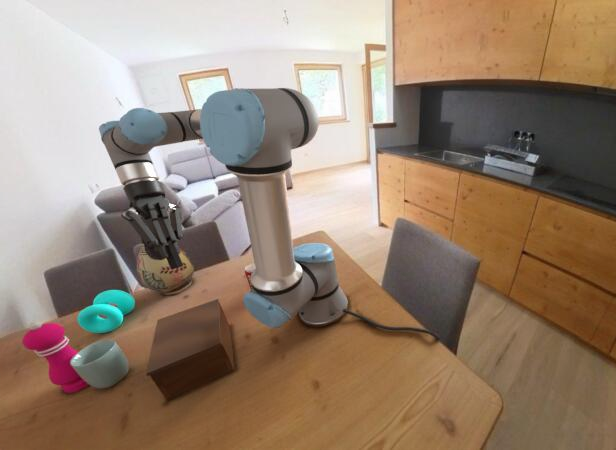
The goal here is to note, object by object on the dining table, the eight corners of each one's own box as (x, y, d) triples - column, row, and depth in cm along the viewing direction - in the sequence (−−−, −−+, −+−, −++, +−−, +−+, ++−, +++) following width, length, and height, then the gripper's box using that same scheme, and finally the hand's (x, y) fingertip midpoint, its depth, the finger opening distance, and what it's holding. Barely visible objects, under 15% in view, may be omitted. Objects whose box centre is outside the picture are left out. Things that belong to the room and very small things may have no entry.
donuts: (142, 308, 94) (128, 284, 90) (126, 329, 85) (109, 305, 81) (106, 315, 92) (90, 292, 87) (86, 338, 83) (67, 313, 78)
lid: (221, 345, 66) (220, 342, 66) (147, 376, 59) (145, 373, 59) (219, 301, 80) (218, 298, 80) (158, 322, 74) (157, 319, 73)
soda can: (272, 292, 98) (264, 264, 93) (259, 301, 94) (249, 272, 89) (264, 288, 101) (254, 260, 96) (250, 296, 97) (240, 268, 92)
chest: (234, 370, 71) (221, 343, 67) (167, 401, 64) (148, 373, 60) (230, 326, 85) (219, 301, 80) (174, 348, 78) (159, 322, 74)
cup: (108, 396, 66) (86, 369, 62) (84, 391, 68) (60, 363, 63) (141, 367, 73) (123, 340, 69) (119, 363, 75) (99, 336, 70)
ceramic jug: (148, 287, 104) (107, 215, 91) (196, 270, 113) (165, 202, 100) (151, 310, 93) (105, 231, 79) (204, 289, 102) (171, 215, 89)
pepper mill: (65, 400, 66) (9, 341, 57) (58, 385, 69) (4, 327, 61) (105, 376, 71) (60, 318, 62) (97, 363, 75) (53, 307, 66)
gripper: (160, 186, 79) (192, 262, 82) (101, 189, 67) (140, 279, 69) (177, 177, 77) (209, 257, 79) (118, 179, 65) (158, 273, 67)
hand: (177, 267), depth 74 cm, fingers closed
